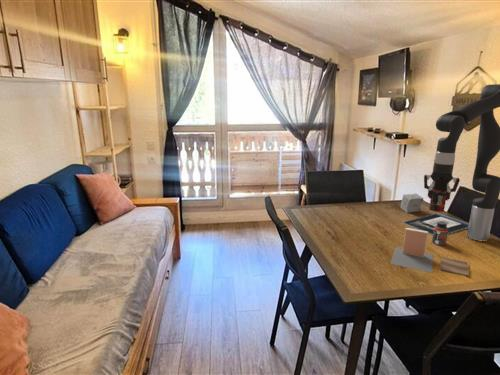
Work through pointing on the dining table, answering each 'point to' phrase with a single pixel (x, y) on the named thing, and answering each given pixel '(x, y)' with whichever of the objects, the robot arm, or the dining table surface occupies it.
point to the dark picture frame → (432, 220)
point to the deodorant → (439, 195)
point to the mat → (412, 260)
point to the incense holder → (411, 203)
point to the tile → (415, 242)
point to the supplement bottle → (440, 234)
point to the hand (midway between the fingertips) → (438, 198)
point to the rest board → (454, 266)
